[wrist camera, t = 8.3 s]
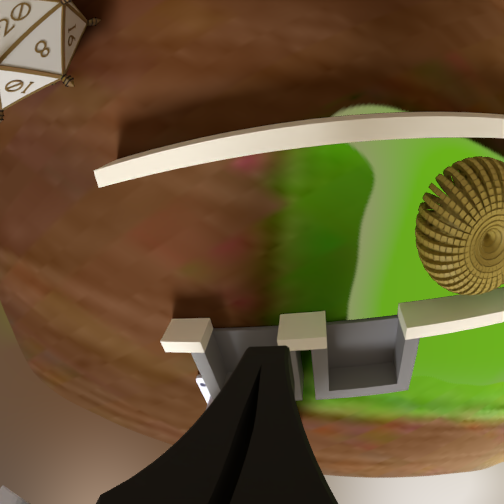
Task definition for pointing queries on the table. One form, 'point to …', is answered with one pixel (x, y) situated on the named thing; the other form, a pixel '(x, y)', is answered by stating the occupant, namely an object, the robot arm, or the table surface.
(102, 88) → the table surface
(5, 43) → the game die
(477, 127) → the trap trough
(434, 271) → the sculpture
